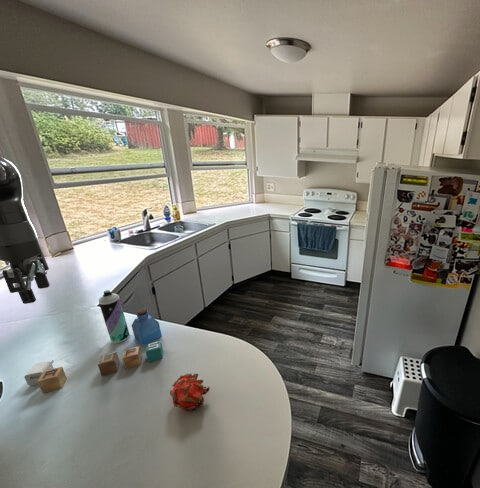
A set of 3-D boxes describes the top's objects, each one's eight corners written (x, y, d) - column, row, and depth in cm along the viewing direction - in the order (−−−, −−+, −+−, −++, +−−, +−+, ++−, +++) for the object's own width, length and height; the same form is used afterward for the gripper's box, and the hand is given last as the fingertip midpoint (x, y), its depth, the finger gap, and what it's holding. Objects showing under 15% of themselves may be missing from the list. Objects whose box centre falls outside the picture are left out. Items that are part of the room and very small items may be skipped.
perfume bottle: (161, 335, 95) (155, 309, 91) (143, 345, 90) (136, 317, 86) (153, 329, 98) (146, 303, 94) (135, 339, 93) (127, 311, 89)
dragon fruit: (182, 391, 75) (205, 418, 69) (155, 397, 68) (177, 428, 62) (197, 364, 76) (220, 389, 70) (172, 367, 69) (196, 395, 63)
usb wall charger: (28, 385, 73) (23, 375, 72) (42, 368, 79) (38, 358, 78) (46, 381, 75) (41, 371, 73) (59, 364, 81) (55, 355, 79)
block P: (125, 369, 80) (122, 357, 78) (127, 360, 83) (124, 349, 82) (140, 364, 82) (137, 353, 80) (142, 356, 85) (139, 345, 84)
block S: (148, 362, 83) (145, 351, 81) (149, 354, 86) (146, 343, 85) (162, 358, 85) (159, 347, 83) (163, 350, 88) (160, 339, 86)
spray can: (107, 341, 91) (91, 294, 84) (122, 332, 96) (108, 286, 89) (119, 344, 90) (104, 296, 83) (133, 334, 95) (120, 288, 88)
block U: (101, 376, 77) (97, 364, 76) (104, 367, 80) (100, 355, 79) (117, 371, 79) (114, 360, 78) (120, 362, 82) (116, 351, 81)
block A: (42, 393, 71) (37, 381, 70) (48, 382, 74) (43, 371, 73) (61, 387, 73) (56, 376, 71) (66, 377, 76) (62, 366, 75)
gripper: (9, 233, 67) (30, 286, 73) (-27, 250, 55) (2, 312, 61) (47, 230, 71) (65, 280, 76) (21, 245, 59) (45, 304, 64)
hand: (37, 294), depth 69 cm, fingers open, 8 cm apart
